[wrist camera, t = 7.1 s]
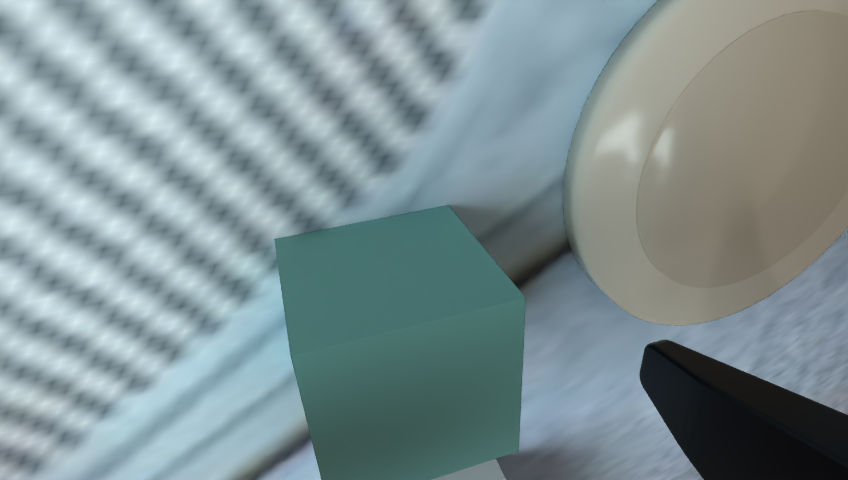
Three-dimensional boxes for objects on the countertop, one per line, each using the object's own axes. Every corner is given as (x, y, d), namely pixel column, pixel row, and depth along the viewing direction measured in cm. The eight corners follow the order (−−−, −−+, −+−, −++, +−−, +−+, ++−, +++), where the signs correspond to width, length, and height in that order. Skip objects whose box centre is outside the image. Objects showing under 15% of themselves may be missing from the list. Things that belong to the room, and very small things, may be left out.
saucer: (943, -75, 13) (1000, -77, 12) (813, 268, 18) (847, 286, 17) (581, -47, 10) (617, -46, 9) (550, 339, 15) (571, 365, 14)
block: (446, 203, 12) (525, 298, 9) (452, 334, 14) (518, 451, 11) (274, 237, 11) (290, 356, 8) (306, 372, 13) (330, 513, 10)
